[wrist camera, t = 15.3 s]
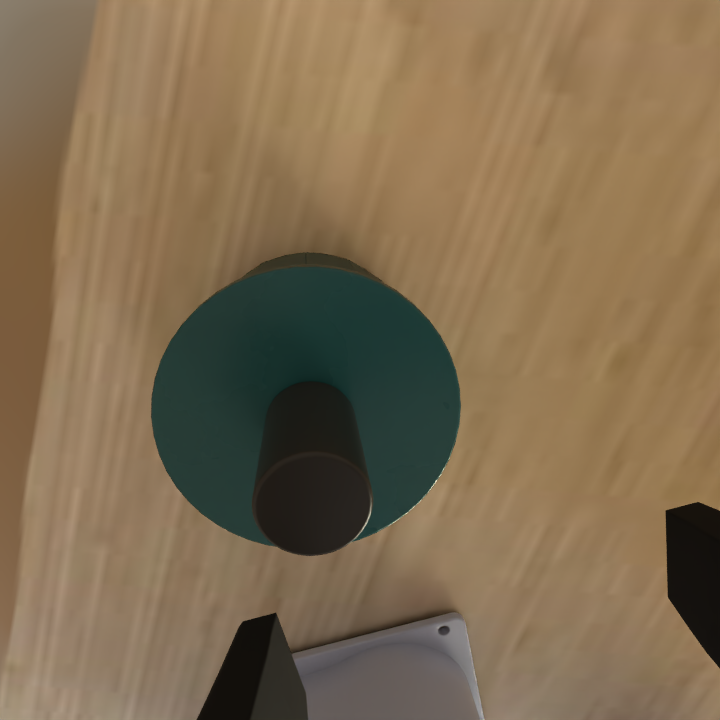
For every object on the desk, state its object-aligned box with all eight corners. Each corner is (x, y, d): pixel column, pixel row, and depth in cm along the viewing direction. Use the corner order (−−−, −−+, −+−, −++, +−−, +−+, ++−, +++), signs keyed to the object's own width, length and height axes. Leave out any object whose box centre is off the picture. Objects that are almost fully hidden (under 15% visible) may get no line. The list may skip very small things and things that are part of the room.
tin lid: (393, 549, 15) (428, 693, 11) (134, 490, 14) (55, 631, 9) (493, 314, 13) (586, 376, 9) (203, 216, 12) (143, 232, 7)
